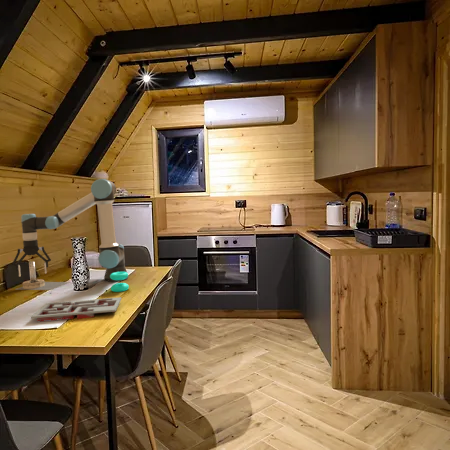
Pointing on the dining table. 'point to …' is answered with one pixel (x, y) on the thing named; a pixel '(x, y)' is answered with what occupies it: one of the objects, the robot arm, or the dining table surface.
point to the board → (47, 286)
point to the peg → (32, 272)
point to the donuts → (119, 286)
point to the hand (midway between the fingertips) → (33, 274)
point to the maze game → (76, 309)
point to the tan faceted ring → (33, 284)
